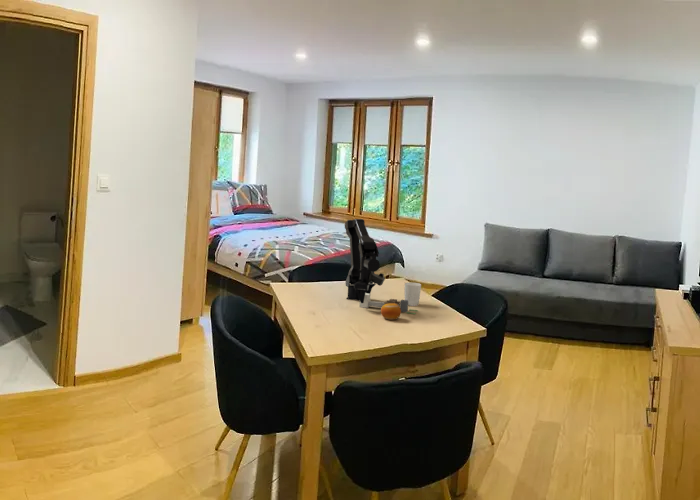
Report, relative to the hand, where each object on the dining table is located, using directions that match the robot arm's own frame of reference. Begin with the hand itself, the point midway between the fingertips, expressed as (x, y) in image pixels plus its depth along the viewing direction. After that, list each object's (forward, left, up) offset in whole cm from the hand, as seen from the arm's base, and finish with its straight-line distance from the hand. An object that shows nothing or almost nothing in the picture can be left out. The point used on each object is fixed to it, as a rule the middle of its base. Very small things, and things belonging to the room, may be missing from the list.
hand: (364, 301), depth 287 cm
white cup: (+19, +16, -3) cm, 25 cm away
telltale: (+19, 0, -3) cm, 19 cm away
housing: (+17, 0, -3) cm, 17 cm away
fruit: (+16, -17, -3) cm, 24 cm away
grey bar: (+7, 0, -3) cm, 8 cm away
